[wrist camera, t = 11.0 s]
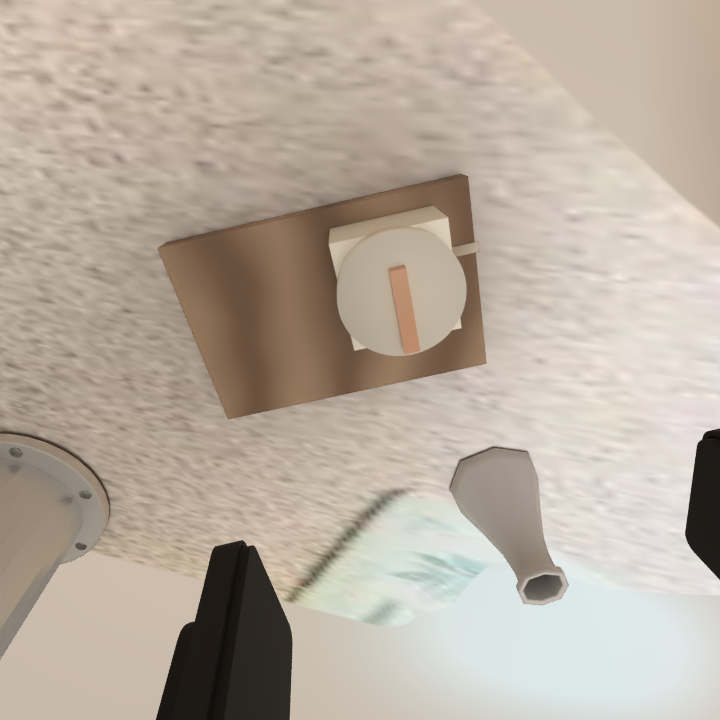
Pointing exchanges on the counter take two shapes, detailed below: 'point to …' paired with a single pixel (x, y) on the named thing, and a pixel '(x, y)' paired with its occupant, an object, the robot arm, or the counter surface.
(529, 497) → the flask
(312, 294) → the hub board
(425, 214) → the knob
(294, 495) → the counter surface
